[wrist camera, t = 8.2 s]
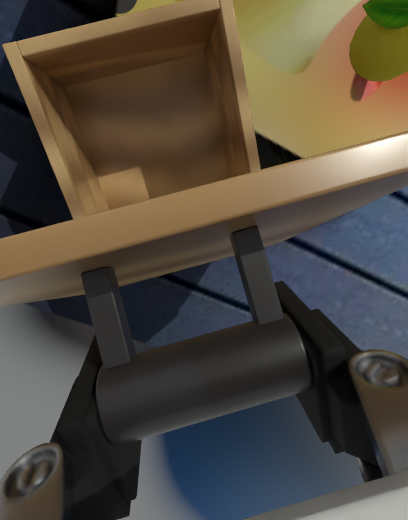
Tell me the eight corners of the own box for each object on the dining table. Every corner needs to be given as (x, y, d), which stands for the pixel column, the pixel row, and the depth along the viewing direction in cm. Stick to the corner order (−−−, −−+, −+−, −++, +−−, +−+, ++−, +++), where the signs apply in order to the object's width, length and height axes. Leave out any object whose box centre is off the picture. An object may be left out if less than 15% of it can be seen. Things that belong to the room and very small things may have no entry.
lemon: (403, 72, 28) (520, 31, 19) (349, 107, 29) (437, 83, 19) (380, -4, 26) (502, -94, 17) (322, 35, 26) (408, -31, 17)
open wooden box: (55, 81, 25) (1, 44, 17) (209, 42, 26) (230, -12, 17) (117, 250, 30) (99, 284, 22) (243, 216, 31) (272, 237, 23)
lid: (-214, 293, 5) (-157, 584, 5) (481, 110, 6) (568, 368, 6) (97, 281, 22) (114, 350, 22) (272, 233, 22) (292, 300, 22)
